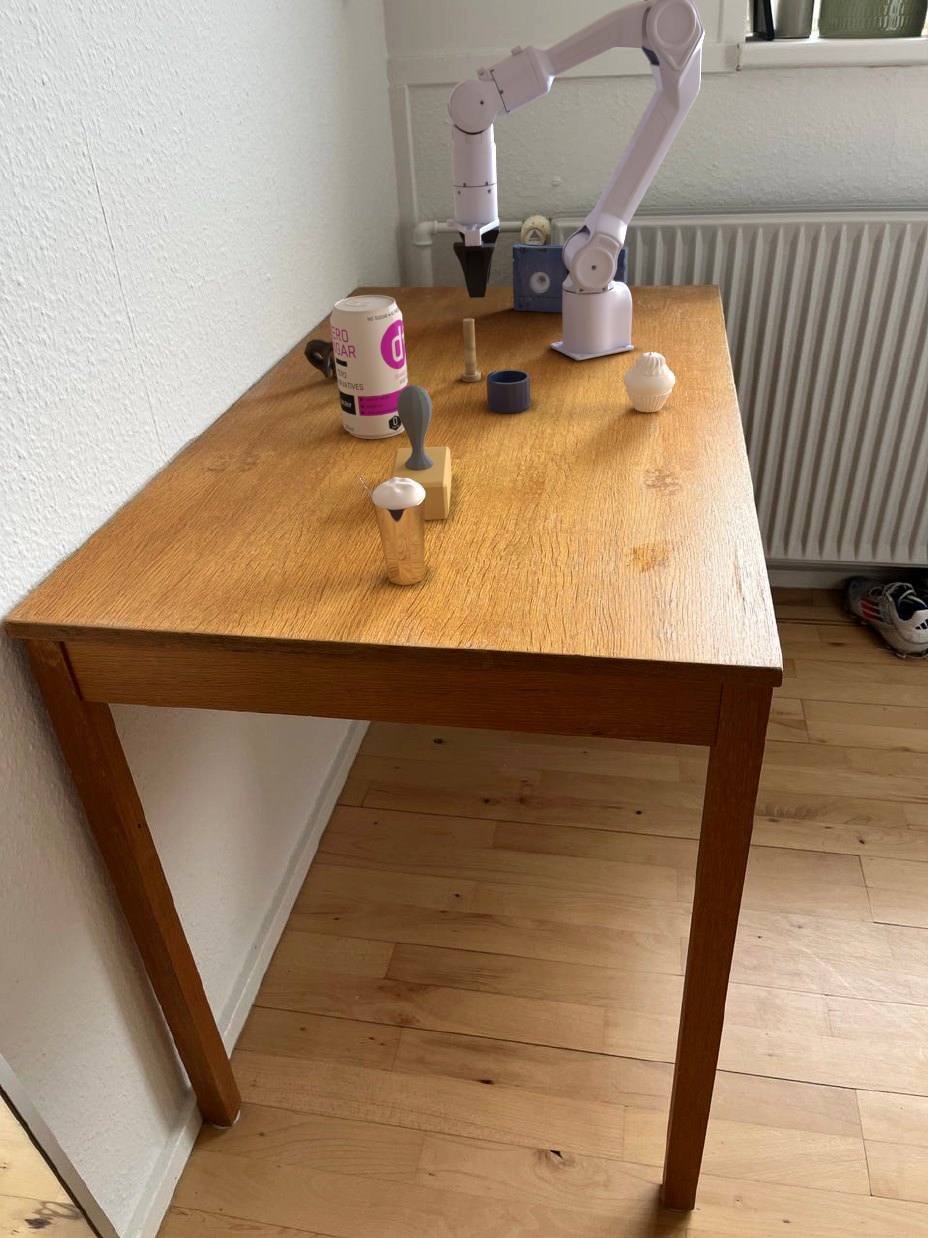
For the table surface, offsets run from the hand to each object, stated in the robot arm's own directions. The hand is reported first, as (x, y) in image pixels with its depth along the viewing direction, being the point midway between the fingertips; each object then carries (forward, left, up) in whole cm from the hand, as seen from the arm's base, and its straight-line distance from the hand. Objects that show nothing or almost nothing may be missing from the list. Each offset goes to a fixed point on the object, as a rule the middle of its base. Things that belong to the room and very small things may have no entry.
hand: (479, 289), depth 133 cm
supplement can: (+23, +18, -10) cm, 31 cm away
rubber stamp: (+26, +39, -10) cm, 48 cm away
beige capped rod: (+6, +8, -9) cm, 14 cm away
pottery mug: (+20, 0, -10) cm, 22 cm away
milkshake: (+34, +53, -10) cm, 64 cm away
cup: (+6, +20, -9) cm, 23 cm away
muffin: (-8, +30, -10) cm, 32 cm away
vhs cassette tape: (-22, -13, -10) cm, 28 cm away
